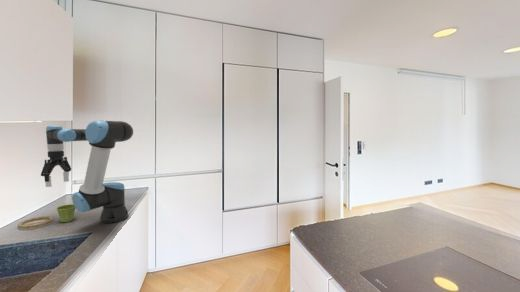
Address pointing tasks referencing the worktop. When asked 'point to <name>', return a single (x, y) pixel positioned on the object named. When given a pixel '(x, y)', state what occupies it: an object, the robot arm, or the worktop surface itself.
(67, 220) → the plant pot
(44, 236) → the worktop surface
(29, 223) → the round wooden tray
